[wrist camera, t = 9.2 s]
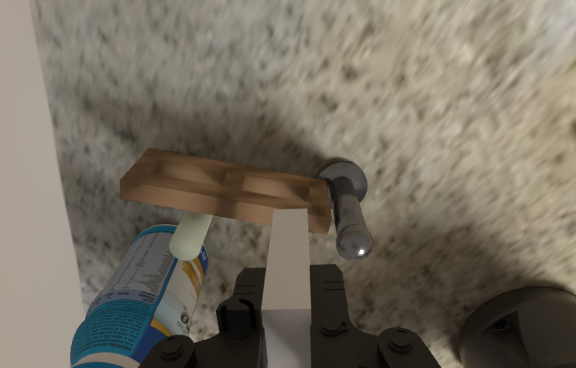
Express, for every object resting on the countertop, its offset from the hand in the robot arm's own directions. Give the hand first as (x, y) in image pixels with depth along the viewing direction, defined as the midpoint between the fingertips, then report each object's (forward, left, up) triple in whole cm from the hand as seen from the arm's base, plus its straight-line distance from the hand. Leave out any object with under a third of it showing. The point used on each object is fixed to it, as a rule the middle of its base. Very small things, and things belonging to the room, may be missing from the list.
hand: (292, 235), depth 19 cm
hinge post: (-7, -5, -21) cm, 23 cm away
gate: (-5, +5, -19) cm, 21 cm away
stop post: (-8, +8, -21) cm, 24 cm away
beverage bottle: (-15, +13, -21) cm, 29 cm away
